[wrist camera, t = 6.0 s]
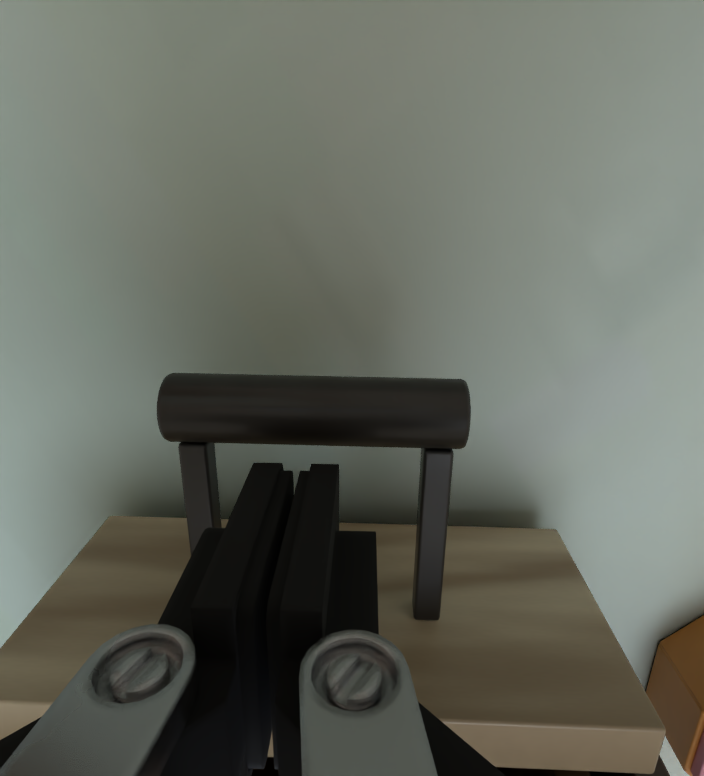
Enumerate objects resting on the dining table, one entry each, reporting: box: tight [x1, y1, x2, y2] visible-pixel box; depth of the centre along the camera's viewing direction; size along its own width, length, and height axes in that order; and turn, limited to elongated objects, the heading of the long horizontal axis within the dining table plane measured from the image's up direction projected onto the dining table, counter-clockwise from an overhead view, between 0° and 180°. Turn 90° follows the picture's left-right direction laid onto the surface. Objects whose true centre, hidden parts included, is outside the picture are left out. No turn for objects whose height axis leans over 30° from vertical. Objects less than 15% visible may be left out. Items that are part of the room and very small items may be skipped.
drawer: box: [0, 373, 666, 776], centre depth 14 cm, size 19×13×6 cm
